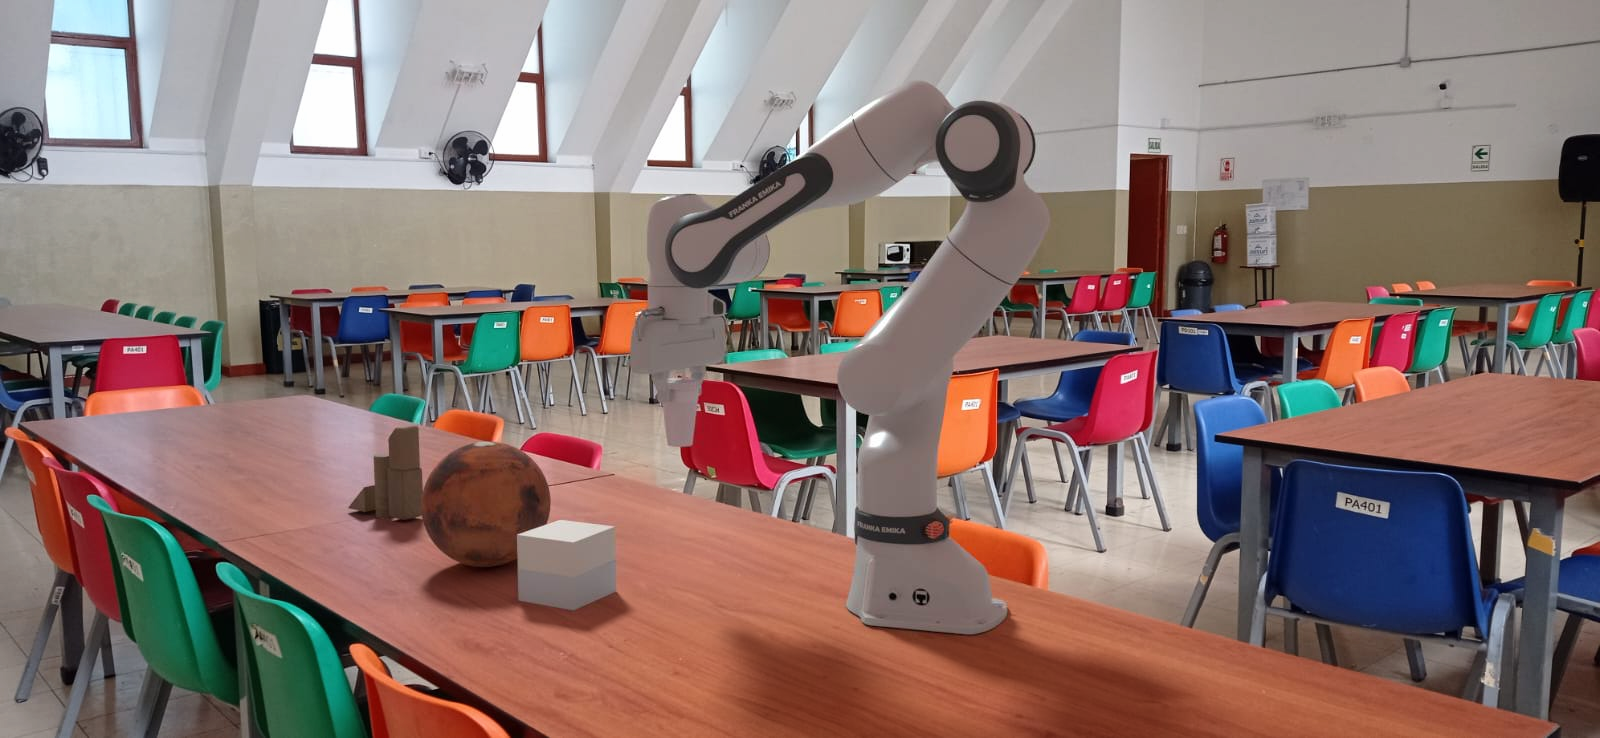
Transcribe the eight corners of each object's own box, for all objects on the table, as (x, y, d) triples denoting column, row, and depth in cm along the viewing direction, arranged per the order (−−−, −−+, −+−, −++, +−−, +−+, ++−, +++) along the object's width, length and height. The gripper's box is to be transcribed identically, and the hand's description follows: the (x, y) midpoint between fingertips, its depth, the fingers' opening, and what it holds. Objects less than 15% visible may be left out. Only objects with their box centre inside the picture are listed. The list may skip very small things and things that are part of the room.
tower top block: (615, 559, 169) (614, 526, 168) (574, 577, 160) (573, 542, 159) (561, 551, 173) (560, 519, 172) (517, 568, 164) (516, 534, 164)
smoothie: (694, 449, 166) (694, 354, 164) (652, 447, 167) (652, 352, 166) (706, 441, 172) (706, 349, 171) (665, 439, 173) (665, 348, 172)
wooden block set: (429, 519, 215) (425, 425, 213) (403, 525, 210) (400, 429, 208) (373, 508, 224) (369, 417, 222) (347, 513, 219) (343, 421, 217)
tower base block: (616, 592, 169) (615, 560, 168) (573, 612, 160) (572, 577, 160) (563, 583, 174) (562, 552, 173) (518, 602, 165) (517, 568, 164)
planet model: (462, 545, 195) (458, 430, 193) (571, 551, 191) (568, 434, 189) (398, 578, 176) (393, 451, 173) (518, 586, 172) (514, 455, 169)
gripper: (654, 309, 157) (656, 408, 158) (732, 303, 175) (733, 392, 176) (617, 308, 160) (620, 406, 161) (697, 302, 178) (699, 390, 179)
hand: (679, 398), depth 169 cm, fingers closed on smoothie, 6 cm apart
